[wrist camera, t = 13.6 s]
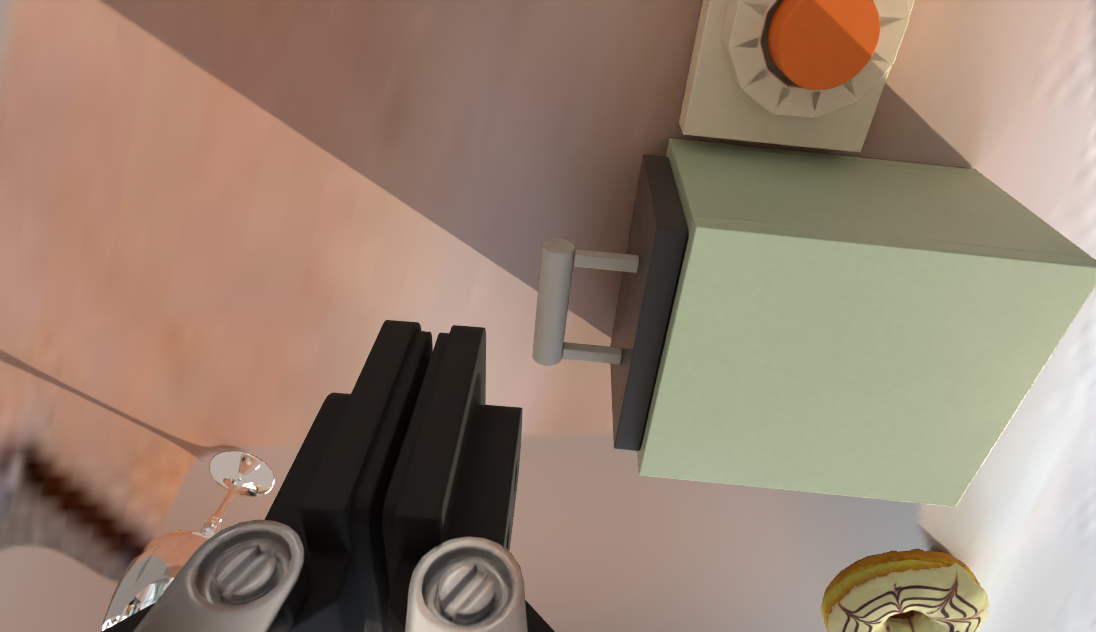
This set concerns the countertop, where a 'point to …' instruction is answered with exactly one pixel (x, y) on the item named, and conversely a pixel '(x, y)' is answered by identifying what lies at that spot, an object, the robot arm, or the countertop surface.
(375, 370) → the robot arm
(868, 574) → the decorated donut
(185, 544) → the wineglass
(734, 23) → the block
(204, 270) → the countertop surface
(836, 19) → the button
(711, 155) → the green drawer cabinet
